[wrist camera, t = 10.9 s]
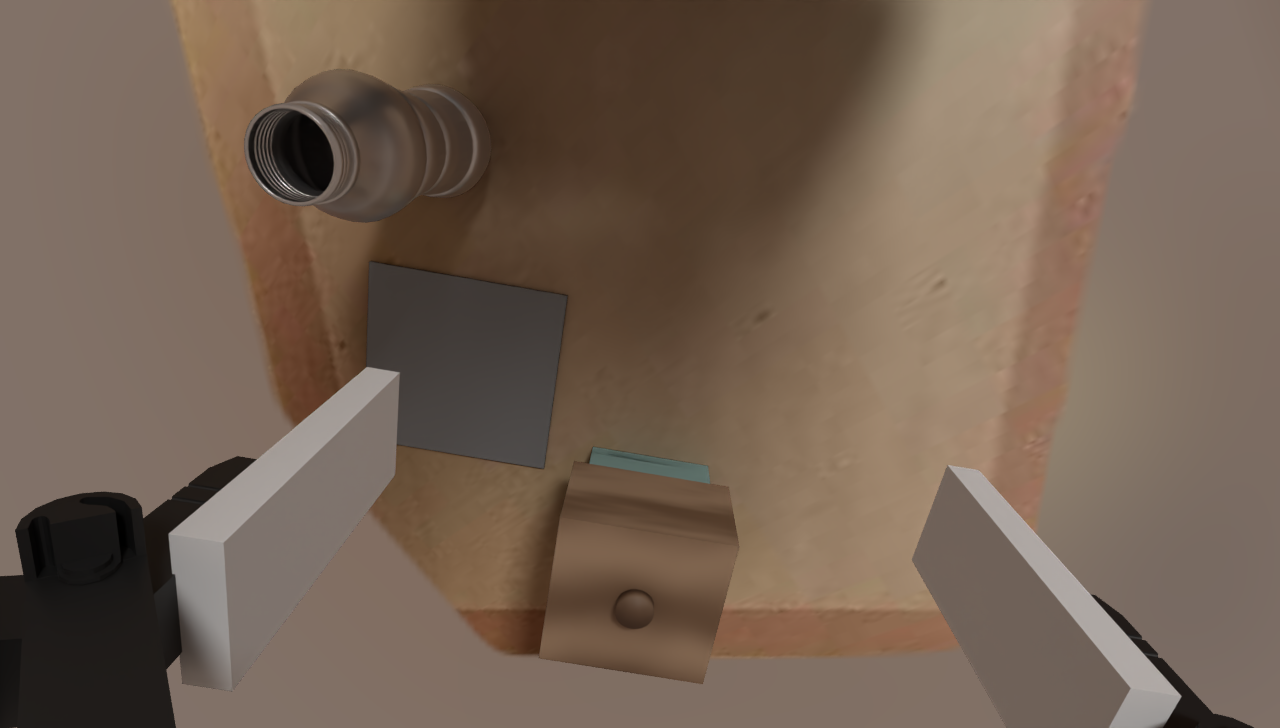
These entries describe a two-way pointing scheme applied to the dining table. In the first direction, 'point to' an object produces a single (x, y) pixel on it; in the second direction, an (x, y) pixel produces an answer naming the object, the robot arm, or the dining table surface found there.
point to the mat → (467, 361)
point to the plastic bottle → (366, 145)
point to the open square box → (650, 465)
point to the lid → (639, 573)
